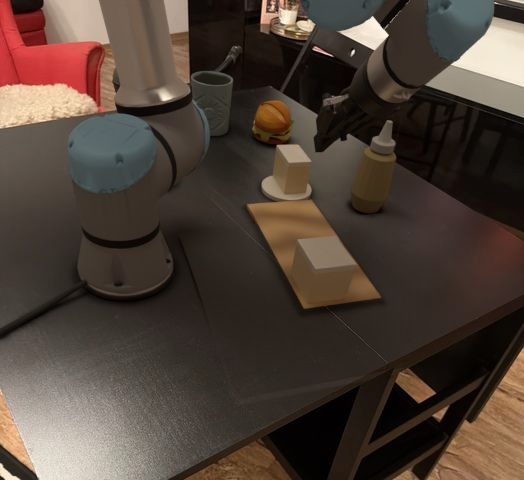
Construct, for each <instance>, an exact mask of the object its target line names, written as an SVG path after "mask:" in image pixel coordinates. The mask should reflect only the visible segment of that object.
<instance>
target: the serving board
mask: <svg viewBox="0 0 524 480" xmlns="http://www.w3.org/2000/svg"><path fill="white" fill-rule="evenodd" d="M246 210H247V212H248V214H249V216H250V217H251V219H252V221H253V222H254V224H255V225H258V227H259V229H260V231H261V232H262V234H263V236H264V238H265V240H266V242H267V244H268V245H269V247H270V249H271V251H272V253H273V255H274V256H275V259H276V260H277V262H278V264H279V266H280V268H281V269H282V271H283V273H284V275H285V277H286V279H287V281H288V282H289V284H290V286H291V287H292V290H293V291H294V294H295V296H297V297H296V298H297V299H298V300H299V302H300V304H301V307H302V308H303V309H312V308H320V307H326V306H333V305H340V304H347V303H354V302H355V303H356V302H362V301H370V300H375V299H383V298H382V296H381V294H380V293H379V292H378V290H377V289H376V287H374V284H373V283H372V282H371V281H370V279H369V277H368V276H367V275H366V274H365V272H364V271H363V269H362V268H361V267H360V265H359V264H358V262H357V261H356V260H355V258H354V256H352V254H351V253H350V251H349V250H348V249H347V247H346V246H345V243H344V242H342V240H341V239H340V237H339V236H338V235H337V233H336V231H334V229H333V228H332V226H331V224H330V223H329V222H328V221H327V219H326V218H325V216H324V215H323V213H322V212H321V211H320V210H319V208H318V207H317V205H316V203H314V201H313V199H308V200H298V201H284V202H277V201H271V202H259V203H257V202H256V203H247V204H246ZM328 236H336V237H337V238H338V240H339V241H340V242H341V244H342V245H343V247H344V248H345V249H346V251H347V252H348V254H349V255H350V256H351V258H352V259H353V261H354V262H355V263H356V267H355V270H354V273H353V277H352V280H351V283H350V286H349V290H348V293H347V296H346V298H344V299H337V300H330V301H322V302H315V303H307V302H306V300H305V298H304V296H303V294H302V293H301V291H300V289H299V287H298V285H297V284H296V282H295V280H294V278H293V277H292V275H291V270H292V265H293V259H294V254H295V248H296V243H297V239H307V238H317V237H328Z"/></svg>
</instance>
